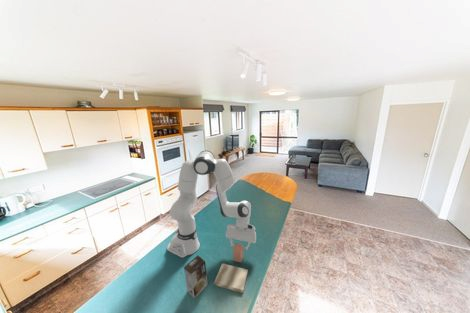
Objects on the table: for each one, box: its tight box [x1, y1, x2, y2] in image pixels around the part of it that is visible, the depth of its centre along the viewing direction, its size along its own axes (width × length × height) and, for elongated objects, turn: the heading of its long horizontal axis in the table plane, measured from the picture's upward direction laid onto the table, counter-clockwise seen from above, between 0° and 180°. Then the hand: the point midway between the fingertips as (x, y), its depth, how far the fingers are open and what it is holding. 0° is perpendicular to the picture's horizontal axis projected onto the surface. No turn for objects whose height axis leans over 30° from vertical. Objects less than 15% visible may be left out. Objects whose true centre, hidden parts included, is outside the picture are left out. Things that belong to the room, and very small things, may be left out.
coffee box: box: [183, 255, 209, 299], centre depth 87 cm, size 9×6×16 cm
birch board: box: [213, 263, 249, 294], centre depth 93 cm, size 16×12×2 cm
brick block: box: [232, 242, 244, 263], centre depth 105 cm, size 5×5×9 cm
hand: (238, 248), depth 106 cm, fingers open, 8 cm apart
